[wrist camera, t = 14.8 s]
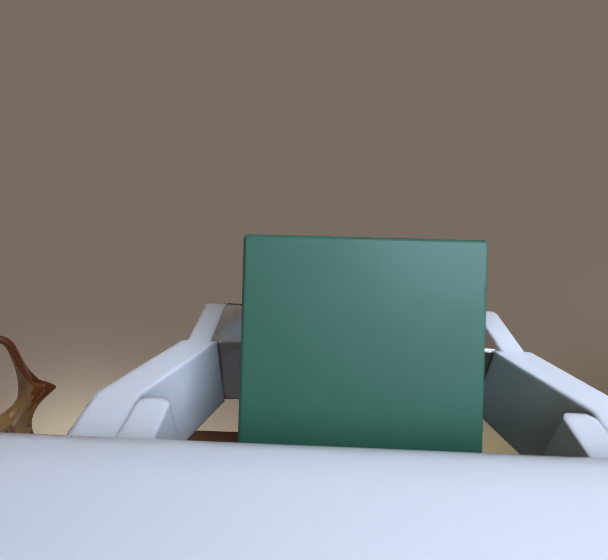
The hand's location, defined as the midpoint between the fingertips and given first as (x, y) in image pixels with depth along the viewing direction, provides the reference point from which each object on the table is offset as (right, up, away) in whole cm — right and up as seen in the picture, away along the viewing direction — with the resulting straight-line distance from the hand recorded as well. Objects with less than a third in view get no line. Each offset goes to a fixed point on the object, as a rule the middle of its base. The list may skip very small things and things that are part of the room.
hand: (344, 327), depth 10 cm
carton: (0, -3, +8) cm, 8 cm away
